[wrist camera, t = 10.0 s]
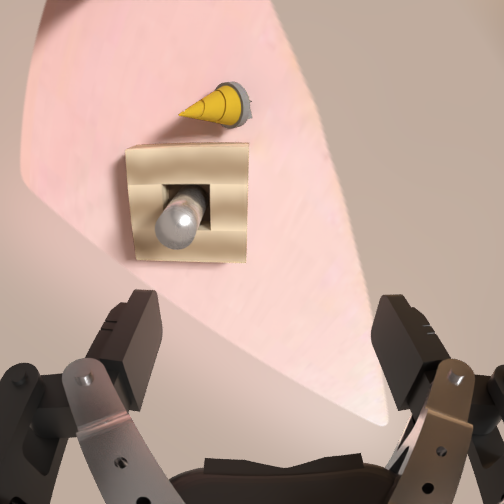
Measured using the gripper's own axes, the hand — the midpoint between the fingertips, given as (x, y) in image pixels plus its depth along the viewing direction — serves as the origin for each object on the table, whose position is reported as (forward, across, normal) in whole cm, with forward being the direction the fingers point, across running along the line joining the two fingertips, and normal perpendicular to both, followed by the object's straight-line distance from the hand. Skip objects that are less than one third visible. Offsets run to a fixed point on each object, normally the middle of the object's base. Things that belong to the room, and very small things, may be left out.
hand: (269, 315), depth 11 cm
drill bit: (+30, +4, -6) cm, 31 cm away
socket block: (+30, +8, +5) cm, 32 cm away
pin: (+29, +8, +5) cm, 31 cm away
